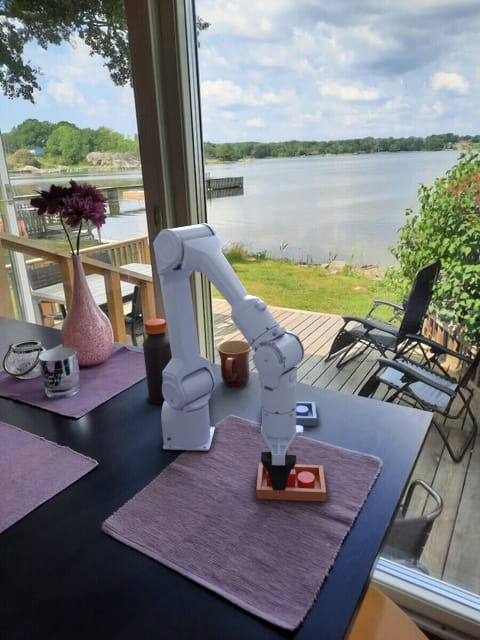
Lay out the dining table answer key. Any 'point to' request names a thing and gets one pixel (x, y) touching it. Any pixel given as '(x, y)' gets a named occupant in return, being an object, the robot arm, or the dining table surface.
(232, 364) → the mug
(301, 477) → the red spoon
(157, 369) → the bottle
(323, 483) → the terracotta tray
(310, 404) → the blue tray
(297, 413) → the blue spoon
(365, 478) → the dining table surface
